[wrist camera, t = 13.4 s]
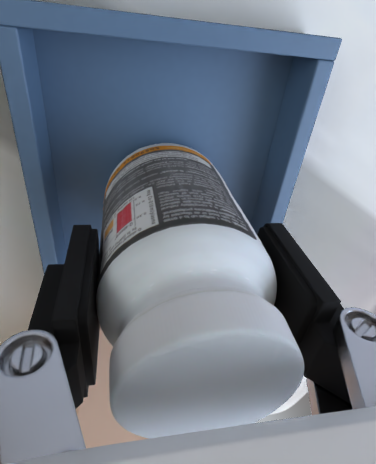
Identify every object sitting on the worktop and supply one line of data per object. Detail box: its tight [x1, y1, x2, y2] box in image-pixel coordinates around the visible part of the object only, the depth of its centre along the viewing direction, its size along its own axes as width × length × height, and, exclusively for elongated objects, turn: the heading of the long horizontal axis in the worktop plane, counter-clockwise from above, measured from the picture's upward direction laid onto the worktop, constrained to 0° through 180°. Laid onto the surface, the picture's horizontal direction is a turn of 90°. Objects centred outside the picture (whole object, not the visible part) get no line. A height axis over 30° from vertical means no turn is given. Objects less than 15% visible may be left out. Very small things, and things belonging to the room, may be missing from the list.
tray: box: [0, 0, 342, 274], centre depth 15 cm, size 14×11×3 cm
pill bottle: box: [96, 143, 304, 439], centre depth 11 cm, size 6×6×10 cm
